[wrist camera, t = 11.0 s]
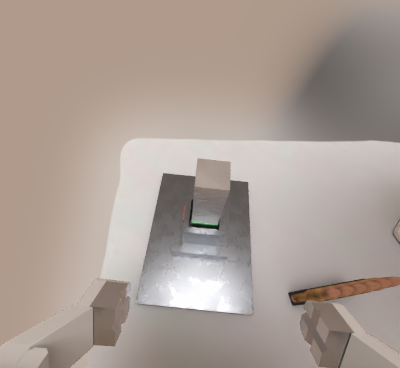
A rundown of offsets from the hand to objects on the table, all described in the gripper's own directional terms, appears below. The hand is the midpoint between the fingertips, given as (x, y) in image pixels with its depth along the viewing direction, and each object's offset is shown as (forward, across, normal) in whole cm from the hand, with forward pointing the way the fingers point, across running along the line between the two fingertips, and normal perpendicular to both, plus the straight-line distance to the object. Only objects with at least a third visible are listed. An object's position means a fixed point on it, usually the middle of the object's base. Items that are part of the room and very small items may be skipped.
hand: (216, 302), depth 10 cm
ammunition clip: (+23, -21, +17) cm, 35 cm away
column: (+24, 0, +7) cm, 25 cm away
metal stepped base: (+28, 0, +11) cm, 30 cm away
